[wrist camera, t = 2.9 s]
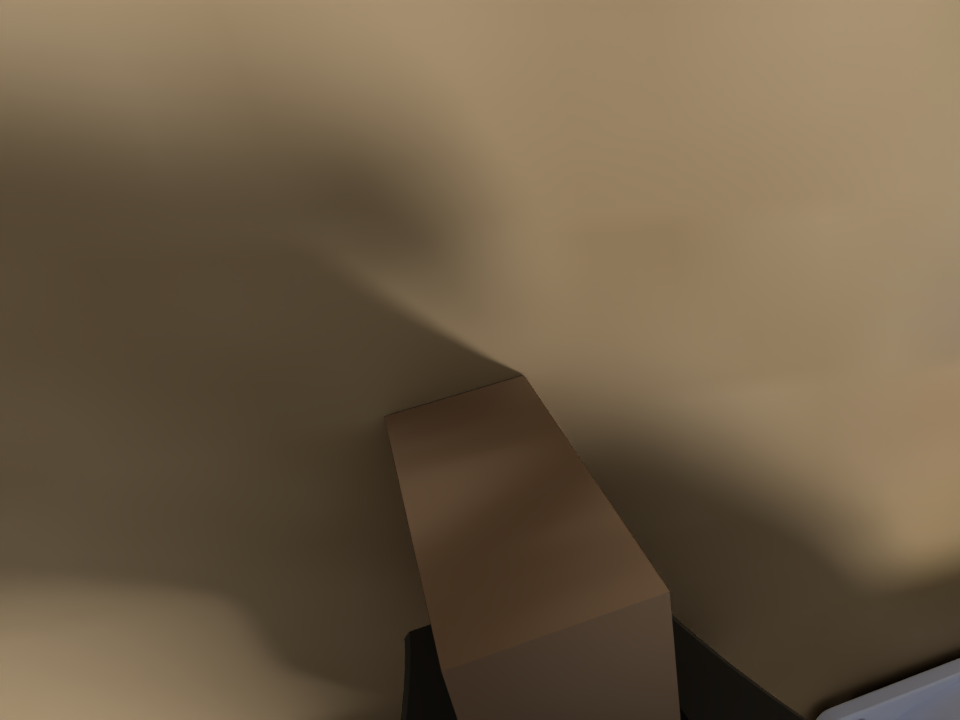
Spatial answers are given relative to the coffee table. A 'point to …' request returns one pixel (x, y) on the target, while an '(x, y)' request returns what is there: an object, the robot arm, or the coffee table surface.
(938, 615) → the coffee table surface
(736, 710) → the robot arm
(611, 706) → the plank on grey base
